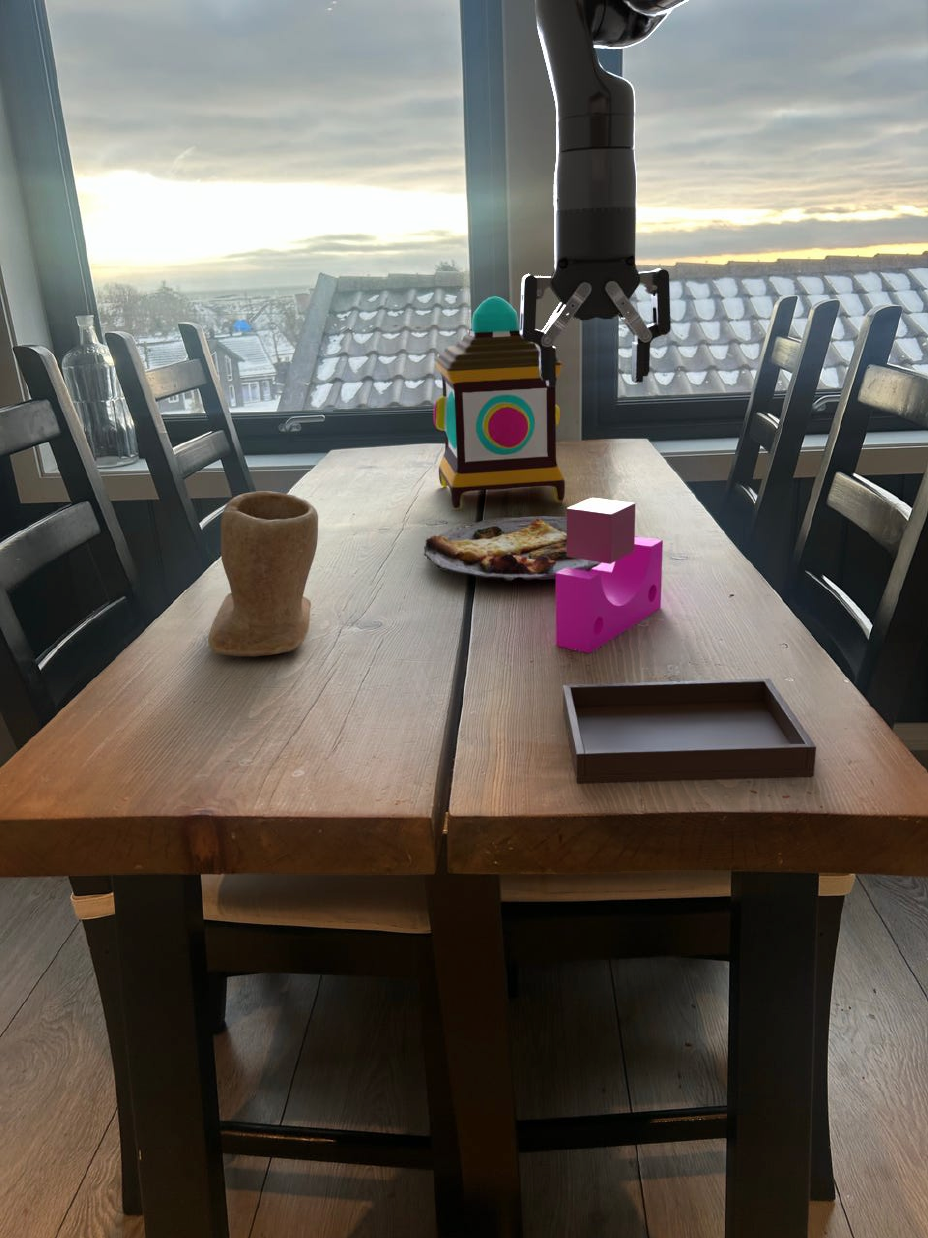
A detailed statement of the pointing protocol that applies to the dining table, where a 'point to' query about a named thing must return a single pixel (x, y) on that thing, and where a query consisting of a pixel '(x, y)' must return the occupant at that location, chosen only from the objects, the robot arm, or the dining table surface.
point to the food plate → (506, 549)
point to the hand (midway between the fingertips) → (594, 383)
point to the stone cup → (265, 574)
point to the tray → (684, 731)
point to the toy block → (608, 597)
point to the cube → (600, 530)
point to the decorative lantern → (496, 409)
